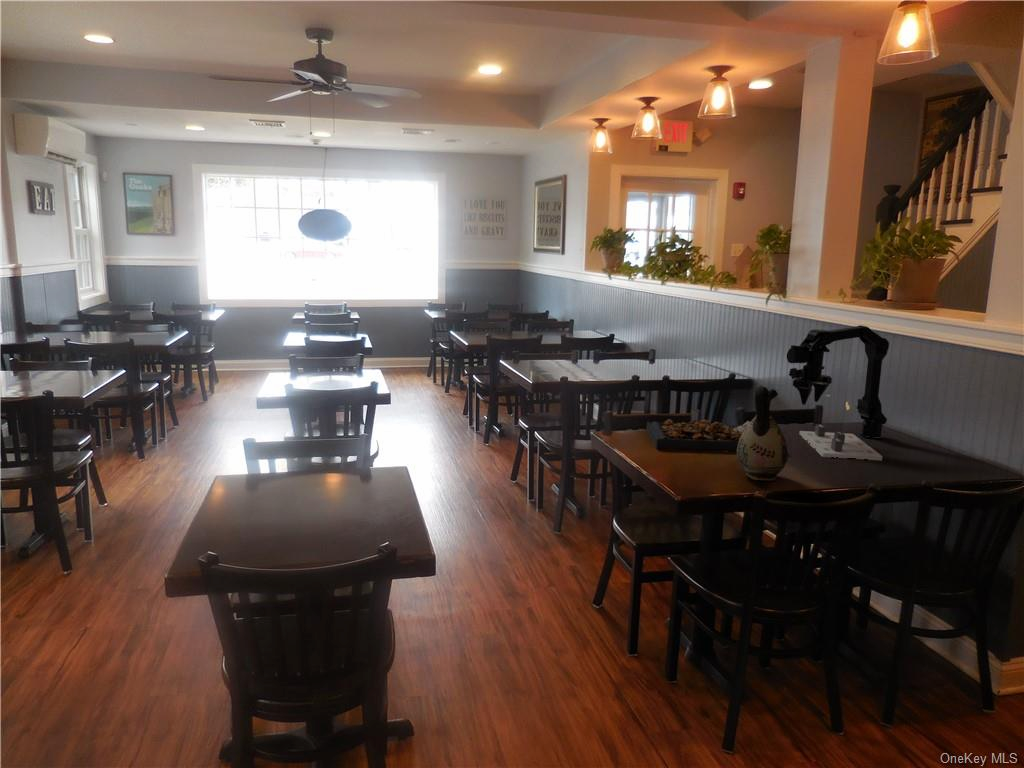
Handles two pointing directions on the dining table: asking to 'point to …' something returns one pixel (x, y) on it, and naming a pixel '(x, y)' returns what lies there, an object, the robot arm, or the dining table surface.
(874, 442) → the dining table surface
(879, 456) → the switch panel
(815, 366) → the robot arm
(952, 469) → the dining table surface
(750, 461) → the ceramic jug
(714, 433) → the food platter
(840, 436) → the block
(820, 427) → the block
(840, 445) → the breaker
